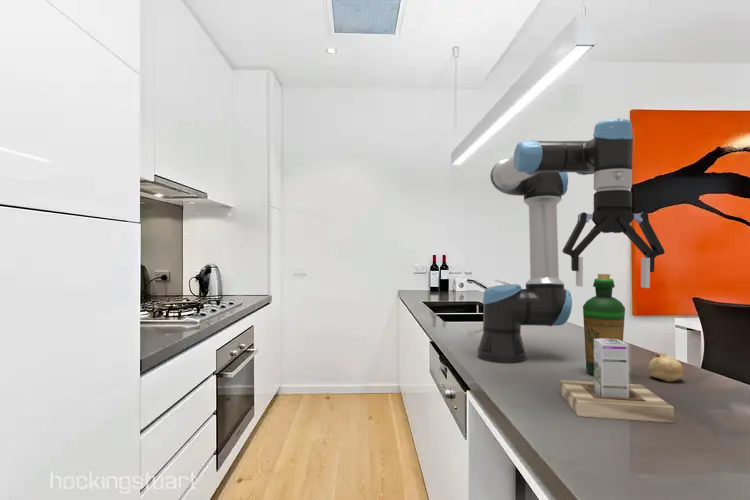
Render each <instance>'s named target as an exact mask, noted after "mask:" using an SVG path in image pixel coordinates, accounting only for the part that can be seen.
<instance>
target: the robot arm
mask: <svg viewBox="0 0 750 500" xmlns="http://www.w3.org/2000/svg"><path fill="white" fill-rule="evenodd" d="M593 130H594V131H593V134H592V136H593V138H592V139H590V140H559V141H558V140H532V139H531V140H528V141H527V140H525V141H523V140H522V141H519V142H518V143H517V144H516V145H515V148H514V152H513V156H512V157H511V158H507V159H502V160H499V161H498V162H497V163H496V164H495V165H494V166H493V167H492V168H491V172H490V174H489V175H490V176H489V177H490V182H491V184H492V185H493V188H494V189H496V190H497V191H499V192H500V193H503V194H505V195H508V196H517V197H519V196H523V202H524V204H526V205H527V206H528V221H529V224H528V225H529V264H530V266H529V267H530V269H529V270H530V271H529V272H530V273H529V274H530V275H529V276H530V278H529V279H528V280H527V281H526V283H525V288H522V286H521V285H520V284H516V283H515V284H514V283H513V284H502V285H494V286H489V287H487V288H485V290H484V291H483V300H482V304H483V310H482V311H483V313H482V315H483V316H482V317H483V321H482V324H483V325H482V328H483V329H482V330H483V332H482V334H481V338H480V340H479V345H478V348H477V353H476V354H477V358H479V359H481V360H484V361H488V362H494V363H502V364H503V363H504V364H505V363H507V364H511V363H512V364H513V363H522V362H525V361H526V360H527V351H526V348H525V343H524V341H523V337H522V335H521V334H522V333H521V326H542V327H544V326H545V327H554V326H563V325H565V324H566V322H568V320H569V318H570V317H571V313H572V309H573V298H572V294H571V292H570V290H569V289H568V288H567V289H566V288H565V283H564V281H563V280H561V279H560V275H559V273H560V272H559V245H558V243H559V242H558V240H559V239H558V208H557V207H558V204H560V202H561V201H562V196H565V195H566V193H567V191H568V186H569V176H568V173H575V174H577V175H580V176H587V175H588V176H589V175H593V190H594V191H595V192H594V193H593V212H592V213H586V212H580V213H579V214H577V215H578V216H577V221H576V225H575V226H574V228H573V230H572V232H571V234H570V236H569V238H568V239H567V242H566V243H565V245H564V247H563V248H562V253H563V254H566V255H568V256H570V258H571V259H570V262H571V264H570V265H571V266H570V269H571V271H572V272H575V286H576V287H583V285H584V283H583V282H584V281H583V280H584V279H583V278H584V277H583V276H584V257H582V256H580V255H581V253H583V252H584V251H585V250H586V248H587V247H588V246H590V244H591V243H592V242H593V241H594V239H596V237H597V236H599V235H600V234H601V233H603V234H610V233H614V234H620V233H623V234H624V235H625V236H626V237H627V238H628V239H629V240H630V242H632V243H633V245H634V246H635V247H636V248H637V249H638V250H639V252H641V253H642V254H643V256H644V257H640V288H644V289H650V288H651V285H650V283H651V273H654V271H655V259H656V258H657V256H660V255H664V254H665V251H666V250H665V249H664V247H663V246H662V244H661V242H660V240H659V238H658V236H657V235H656V233H655V231H654V228H653V227H652V225H651V222H650V220H649V214H648V212H646V211H642V212H639V213H633V211H632V208H633V192H632V191H631V189H632V188H633V147H634V146H633V144H634V143H633V140H634V139H633V138H634V136H633V124H632V121H631V120H629V119H626V118H610V119H605V120H602V121H601V120H600V121H598V122H597V123H596V124H595V125H594V129H593ZM590 220H591V221H592V222H593V223H594V226H593V227H592V229H590V231H589V232H588V234H587V235H586V236H585V237H584V238H583V239H582V240H581V241H580V242H579V243H578V244H577V245H576V242H577V241H578V240H579V237H580V235H581V233H582V232H583V231H584V228H585V226H586V224H587V223H589V222H590ZM633 221H635V222H636V223H637V224H638V226H639V228H640V229H641V232H642V233H643V235H644V237H645V240H646V241H647V242H646V241H644V239H643V238H642V237H641V236H640V235H639V234H638V233H637V231H636V229H634V227H633V226H632V224H631V223H632V222H633ZM647 243H648V244H647ZM575 245H576V246H575ZM574 247H575V248H574Z"/></svg>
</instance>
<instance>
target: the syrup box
mask: <svg viewBox="0 0 750 500" xmlns="http://www.w3.org/2000/svg"><path fill="white" fill-rule="evenodd" d="M629 371H630V370H629V344H628V343H626V342H625V341H624V340H623V341H621V340H618V339H608V338H601V339H594V375H593V382H594V393H595V394H596V395H597V396H602V397H619V398H629V384H630V379H629V378H630V373H629Z"/></svg>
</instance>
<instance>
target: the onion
mask: <svg viewBox="0 0 750 500" xmlns="http://www.w3.org/2000/svg"><path fill="white" fill-rule="evenodd" d="M647 366H648V367H647V368H648V372H649V374H650V375H651V376H652V377H653V378H655V379H659V380H661V381H665V382H668V383H673V382H676V381H677V382H678V381H679V380H681V378H682V377H683V376H684V373H685V372H684V371H685V370H684V367H683V365H682V363H681V362H679V360H677V359H676V358H674V357H672V356H669V355H668V354H666V353H660V352H656V353H655V356H654V357H653V358H652V359H651V360H650V361H649V363H648V365H647Z"/></svg>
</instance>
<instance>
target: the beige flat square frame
mask: <svg viewBox="0 0 750 500" xmlns="http://www.w3.org/2000/svg"><path fill="white" fill-rule="evenodd" d="M559 394H560V395H561V397H563V399H564V400H565V401H566V402H567V404H568V405H569V407H570V408H571V409H572V410H573V412H574V414H576V415H577V417H583V418H598V419H599V418H600V419H611V420H614V419H615V420H627V421H628V420H630V421H640V422H641V421H644V422H658V423H659V422H660V423H673V424H674V423H675V407H674V406H673V405H671V404H669V403H668V402H667V401H665V400H664V399H662V398H661V397H659V396H658V395H656V394H655V393H653V392H652V391H651V390H649V389H647V387H646V386H643V385H642V384H639V383H638V384H634V383H633V384H632V383H629V398H619V397H602V396H597V395H596V394H595V393H594V381H581V380H579V381H578V380H563V379H562V380H561V379H560V380H559Z"/></svg>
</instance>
